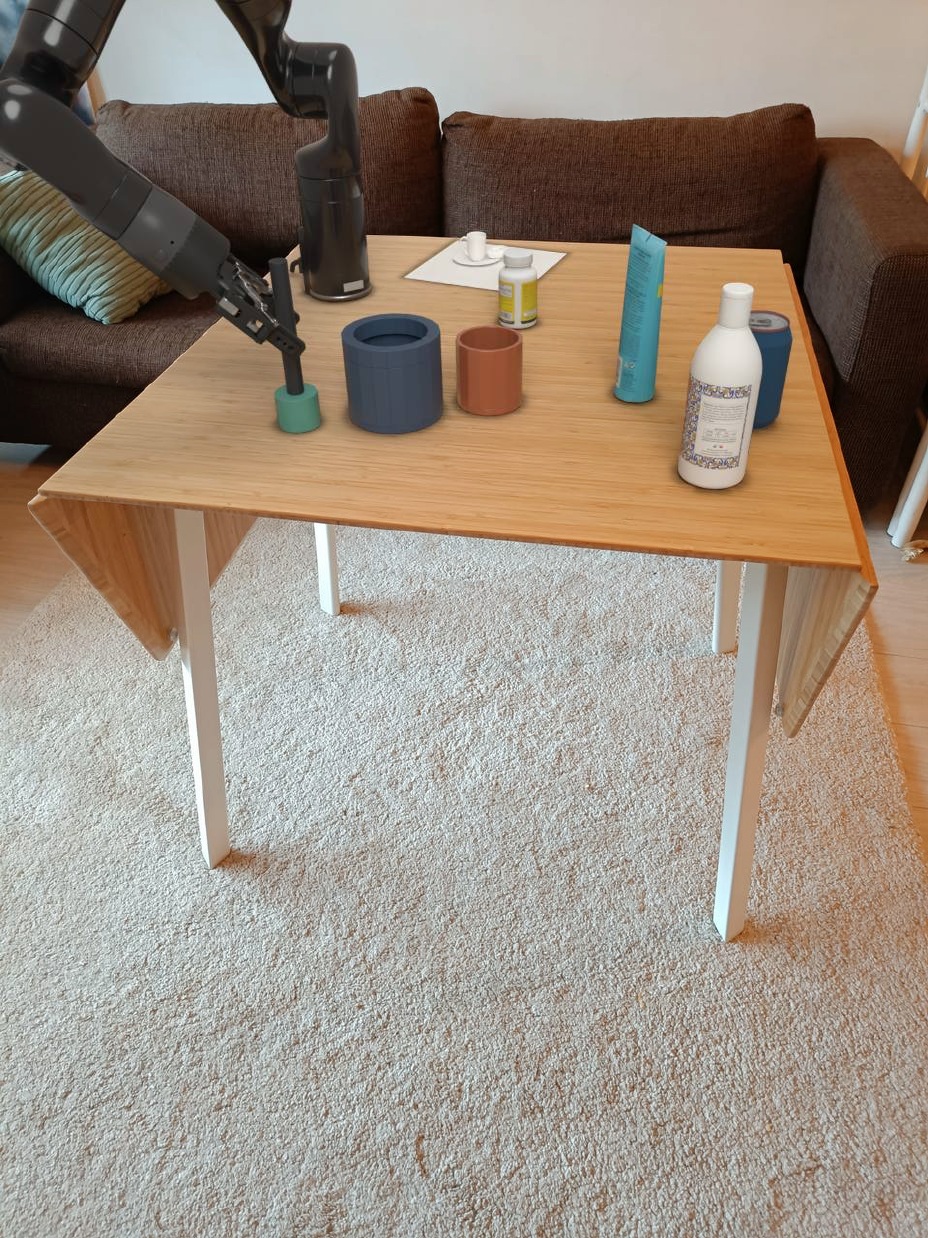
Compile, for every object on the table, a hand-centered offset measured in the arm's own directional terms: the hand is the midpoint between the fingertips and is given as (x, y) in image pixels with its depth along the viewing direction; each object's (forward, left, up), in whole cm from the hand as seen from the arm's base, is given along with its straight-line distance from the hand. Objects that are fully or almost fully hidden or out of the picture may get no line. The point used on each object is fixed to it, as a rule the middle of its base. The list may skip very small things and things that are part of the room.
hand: (298, 338), depth 110 cm
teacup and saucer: (-6, +58, -10) cm, 60 cm away
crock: (+17, +14, -10) cm, 24 cm away
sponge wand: (-1, -1, -10) cm, 10 cm away
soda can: (+46, +22, -10) cm, 52 cm away
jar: (+8, +7, -10) cm, 15 cm away
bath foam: (+46, +8, -10) cm, 48 cm away
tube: (+32, +23, -10) cm, 41 cm away
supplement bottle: (+9, +38, -10) cm, 41 cm away
